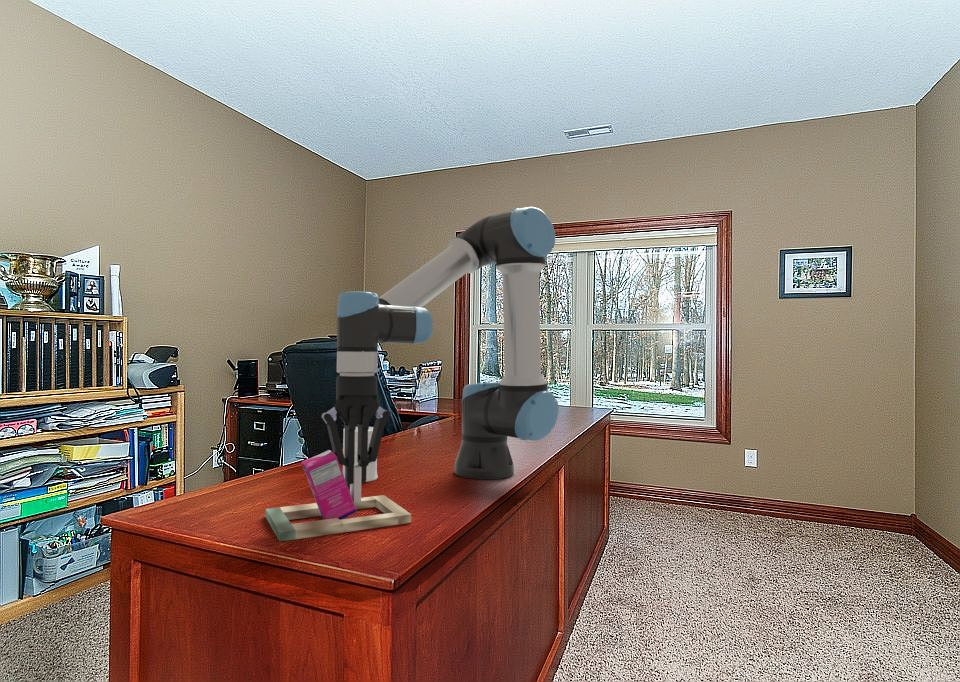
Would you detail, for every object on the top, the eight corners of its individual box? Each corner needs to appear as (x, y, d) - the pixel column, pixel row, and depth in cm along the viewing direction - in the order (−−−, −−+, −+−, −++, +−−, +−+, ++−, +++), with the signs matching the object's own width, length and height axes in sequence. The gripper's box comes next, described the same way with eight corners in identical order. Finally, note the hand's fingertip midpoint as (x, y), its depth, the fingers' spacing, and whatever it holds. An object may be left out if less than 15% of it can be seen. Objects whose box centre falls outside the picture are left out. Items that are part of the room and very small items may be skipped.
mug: (357, 470, 147) (358, 423, 147) (388, 472, 145) (389, 425, 145) (335, 481, 136) (336, 430, 136) (368, 483, 134) (369, 432, 134)
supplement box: (320, 517, 107) (300, 461, 106) (350, 504, 110) (331, 448, 108) (326, 526, 102) (305, 467, 101) (357, 512, 104) (338, 454, 103)
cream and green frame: (383, 502, 118) (383, 495, 118) (411, 522, 105) (411, 514, 105) (265, 516, 107) (265, 508, 107) (279, 541, 94) (279, 532, 94)
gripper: (383, 373, 114) (381, 492, 114) (317, 374, 108) (315, 500, 107) (396, 375, 107) (395, 501, 107) (327, 376, 101) (325, 510, 101)
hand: (355, 500), depth 107 cm, fingers closed
